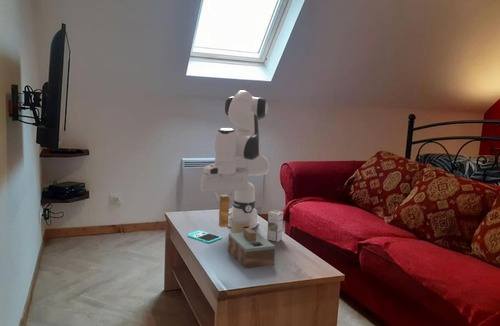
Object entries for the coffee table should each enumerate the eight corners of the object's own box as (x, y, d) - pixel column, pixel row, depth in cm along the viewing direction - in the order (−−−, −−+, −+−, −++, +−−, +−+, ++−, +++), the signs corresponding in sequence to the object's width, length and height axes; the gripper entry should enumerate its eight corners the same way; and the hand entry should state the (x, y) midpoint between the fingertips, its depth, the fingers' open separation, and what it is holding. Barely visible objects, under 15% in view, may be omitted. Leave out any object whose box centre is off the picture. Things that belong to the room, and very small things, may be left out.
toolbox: (228, 253, 185) (228, 236, 184) (254, 250, 190) (255, 233, 189) (245, 270, 167) (246, 252, 166) (273, 266, 172) (274, 248, 171)
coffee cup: (247, 246, 194) (248, 222, 193) (228, 244, 196) (228, 220, 194) (251, 240, 203) (252, 216, 202) (232, 238, 205) (233, 214, 203)
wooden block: (218, 225, 171) (219, 194, 169) (225, 224, 173) (226, 194, 171) (221, 227, 169) (222, 196, 167) (228, 226, 170) (229, 196, 168)
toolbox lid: (228, 236, 184) (229, 226, 183) (255, 233, 189) (255, 223, 188) (246, 252, 166) (246, 240, 165) (274, 248, 171) (275, 237, 170)
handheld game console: (199, 232, 214) (199, 229, 213) (222, 239, 204) (222, 236, 204) (185, 236, 206) (185, 234, 206) (209, 244, 196) (209, 241, 196)
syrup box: (282, 239, 206) (283, 211, 204) (276, 242, 201) (278, 214, 199) (272, 237, 209) (273, 209, 207) (266, 240, 204) (268, 211, 202)
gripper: (245, 166, 174) (244, 197, 176) (199, 167, 166) (198, 200, 168) (251, 168, 168) (250, 201, 170) (203, 170, 160) (203, 204, 162)
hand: (224, 201), depth 169 cm, fingers closed on wooden block, 3 cm apart
